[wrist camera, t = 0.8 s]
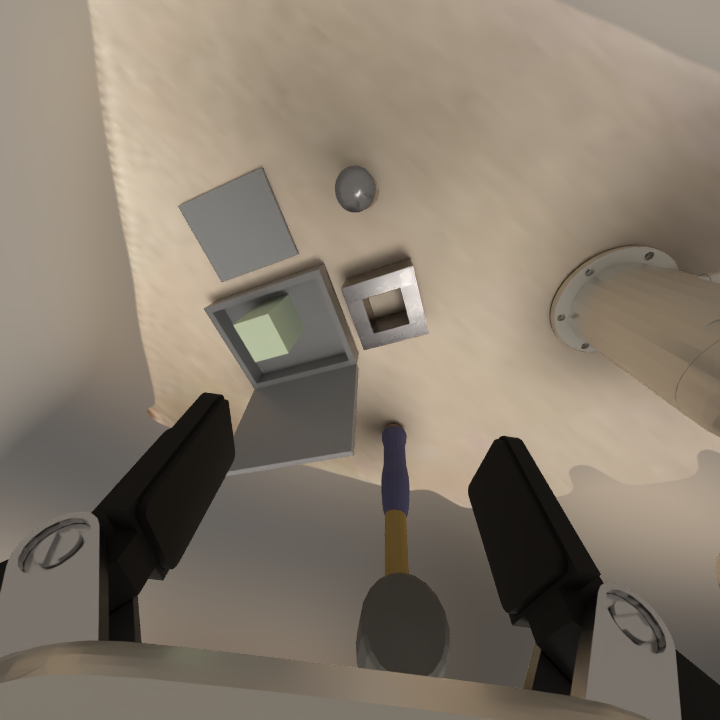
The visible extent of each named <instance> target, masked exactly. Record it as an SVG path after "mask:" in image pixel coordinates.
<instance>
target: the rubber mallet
mask: <svg viewBox="0 0 720 720" xmlns="http://www.w3.org/2000/svg"><path fill="white" fill-rule="evenodd" d="M382 442H383V445H384V466H383V472H382V505H383V511H384V514H385V577H382V578H380V579H379V580H378V581H377V582H376V583H375V584H374V585H373V586H372V587H371V588H370V590H369V592H368V594H367V596H366V598H365V600H364V602H363V607H362V611H361V616H360V621H359V627H358V632H357V640H356V652H357V665H358V668H364V669H372V670H380V671H389V672H397V673H405V674H413V675H421V676H429V677H436V678H443V675H444V672H445V668H446V664H447V659H448V655H449V652H450V629H449V625H448V622H447V618H446V614H445V611H444V609H443V607H442V605H441V603H440V601H439V599H438V597H437V595H436V594H435V593H434V592H433V591H432V590H431V588H430V587H429V586H428V585H427V584H426V583H425V582H423V581H422V580H420V579H419V578H417V577H416V576H413V575H410V574H409V570H408V547H407V524H406V518H407V515H408V510H409V476H408V472H407V467H406V457H405V444H406V433H405V431H404V430H403V429H402V428H401V426H399V425H397V424H390V425H388V426H387V427H386V428H385V430H384V431H383V433H382Z"/></svg>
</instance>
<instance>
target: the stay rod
mask: <svg viewBox="0 0 720 720" xmlns="http://www.w3.org/2000/svg"><path fill="white" fill-rule="evenodd" d="M335 193H336V197H337V200H338V202H339V204H340V205H341V206H342V207H343V208H344V209H346V210H347V211H350V212H360V211H363V210H365V209H366V208H368V207H370V206H372V205H373V204H374V203H375V202H376V200H377V198H378V193H379V190H378V185H377V183H376V181H375V180H374V179H373V177H372V176H371V175H370V174H369V172H368V171H367V170H365V169H364V168H362V167H359V166H350V167H347V168H346V169H344V170H343V171H342V172H341V173H340V174H339V176H338V178H337V180H336V185H335Z"/></svg>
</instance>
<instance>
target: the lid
mask: <svg viewBox="0 0 720 720" xmlns="http://www.w3.org/2000/svg"><path fill="white" fill-rule="evenodd" d="M358 369H359V368H358V366H357V364H355V365H351V366H347V367H343V368H339V369H335V370H331V371H327V372H323V373H319V374H315V375H310V376H306V377H302V378H298V379H294V380H290V381H286V382H282V383H278V384H274V385H270V386H266V387H261V388H257V389H255V390H254V392H253V394H252V396H251V399H250V401H249V403H248V405H247V408H246V410H245V412H244V414H243V417H242V419H241V421H240V423H239V426H238V428H237V430H236V432H235V434H234V437H233V438H234V445H235V458H234V461H233V463H232V465H231V467H230V469H229V471H228V473H227V475H226V476H230V475H235V474H242V473H248V472H255V471H260V470H267V469H273V468H279V467H285V466H292V465H298V464H304V463H310V462H316V461H322V460H329V459H335V458H341V457H347V456H353V455H354V445H355V426H356V407H357V388H358Z"/></svg>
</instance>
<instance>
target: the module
mask: <svg viewBox="0 0 720 720" xmlns="http://www.w3.org/2000/svg"><path fill="white" fill-rule="evenodd" d="M233 326H234V328H235V329H236V331H237V333H238V334H239V336H240V338H241V339H242V341H243V343H244V344H245V346H246V348H247V349H248V351H249V353H250V354H251V356H252V358H253V359H254V361H255V362H258V361H262V360H266V359H269V358H273V357H277V356H280V355H284V354H288V353H289V352H290V350H291V349H292V347H293V346H294V344H295V342H296V341H297V339H298V338H299V336H300V335H301V333H302V331H303V330H304V326H303V324H302V322H301V320H300V318H299V315H298V313H297V311H296V309H295V307H294V305H293V303H292V300H291V298H290V296H289V294H287V295H284V296H281V297H278V298H275V299H272V300H269V301H266V302H263V303H260V304H258V305H256V306H255V307H254V308H253V309H252V310H250V311H249V312H248V313H247V314H246V315H244V316H243V317H242V318H241V319H240V320H238V321H237V322H236V323H235V324H234V325H233Z"/></svg>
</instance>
